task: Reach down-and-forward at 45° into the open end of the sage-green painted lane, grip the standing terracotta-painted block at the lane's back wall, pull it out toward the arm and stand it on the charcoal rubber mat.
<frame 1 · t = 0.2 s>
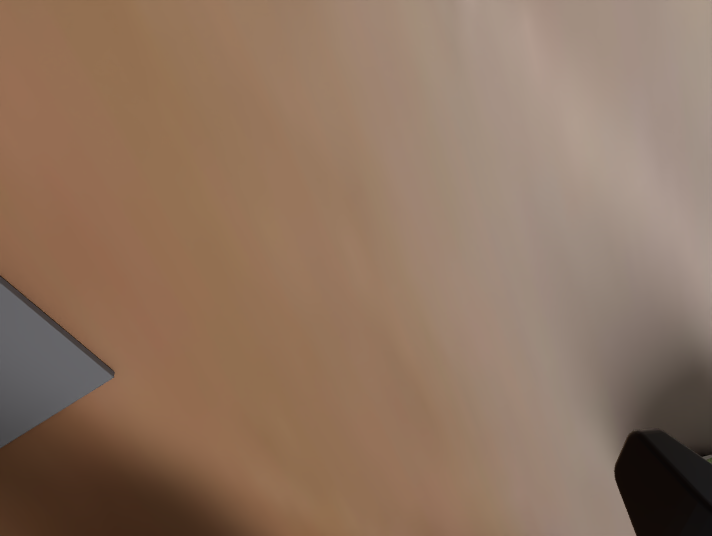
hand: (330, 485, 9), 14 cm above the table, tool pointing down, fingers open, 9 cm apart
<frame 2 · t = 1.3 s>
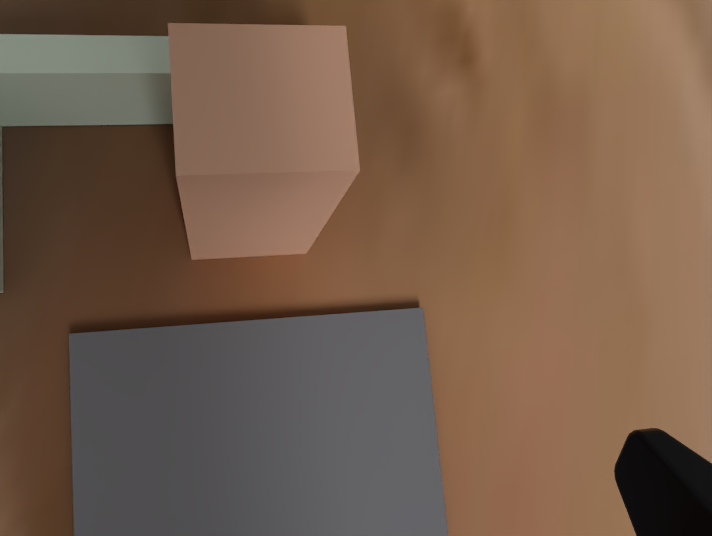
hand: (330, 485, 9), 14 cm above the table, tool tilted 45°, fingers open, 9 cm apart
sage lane: (246, 208, 24), on the table
charcoal mat: (267, 500, 23), on the table
terracotta block: (246, 208, 24), on the table
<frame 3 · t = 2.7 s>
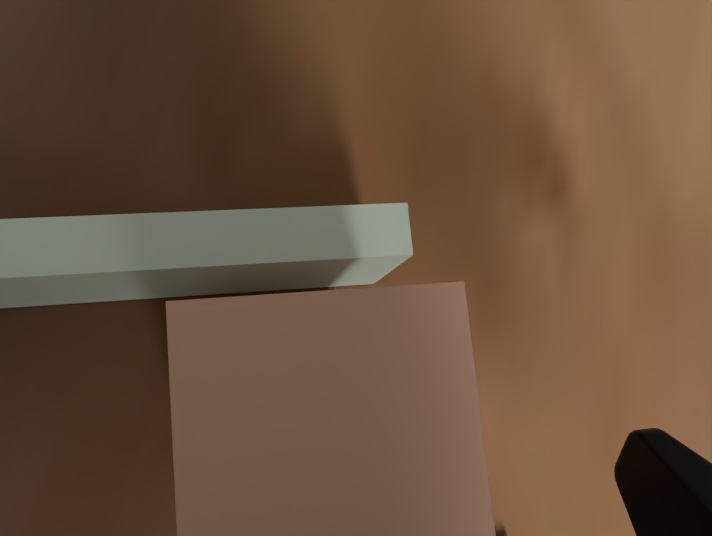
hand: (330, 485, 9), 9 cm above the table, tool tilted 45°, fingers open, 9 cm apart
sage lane: (274, 411, 18), on the table
terracotta block: (274, 411, 18), on the table
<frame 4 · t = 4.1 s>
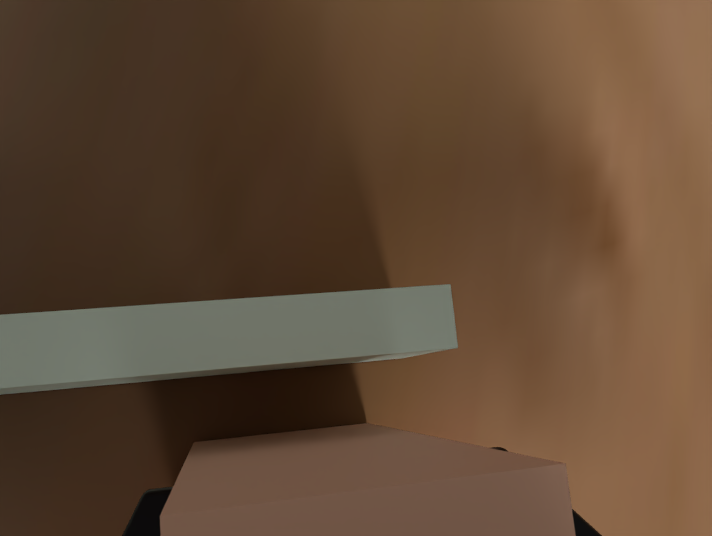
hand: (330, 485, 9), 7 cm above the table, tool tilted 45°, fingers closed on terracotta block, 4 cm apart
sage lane: (288, 512, 15), on the table
terracotta block: (288, 511, 15), on the table, touching gripper
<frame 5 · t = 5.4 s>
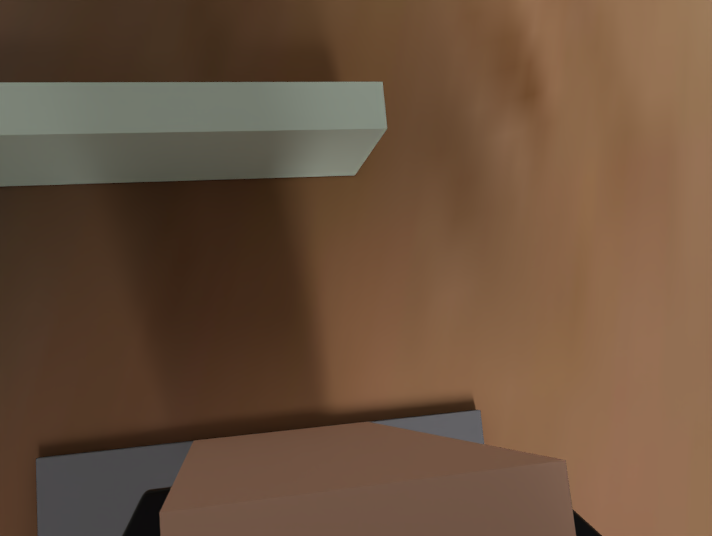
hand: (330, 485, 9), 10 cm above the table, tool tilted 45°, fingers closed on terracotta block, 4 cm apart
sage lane: (261, 287, 19), on the table
terracotta block: (288, 509, 15), point 3 cm above the table, touching gripper
when the fingers open (8 cm above the table, at t = 6.8 s): terracotta block stays where it is, resting on charcoal mat.
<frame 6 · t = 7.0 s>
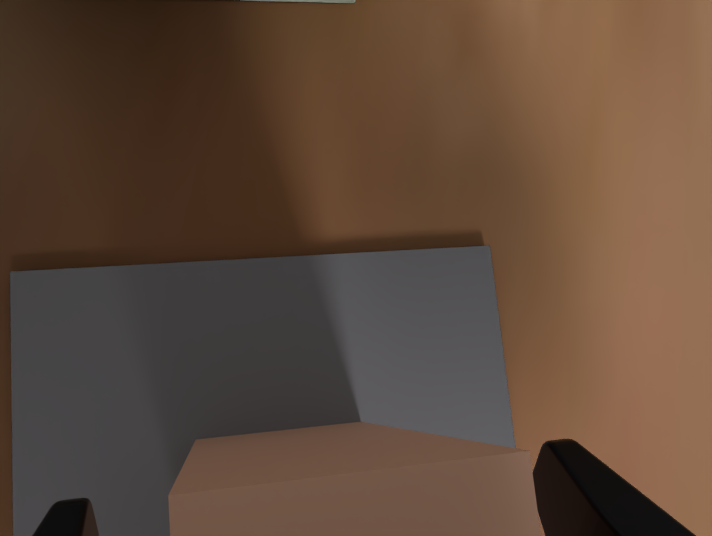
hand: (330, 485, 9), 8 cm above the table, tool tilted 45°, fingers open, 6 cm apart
charcoal mat: (284, 502, 17), on the table
terracotta block: (286, 505, 16), resting on charcoal mat
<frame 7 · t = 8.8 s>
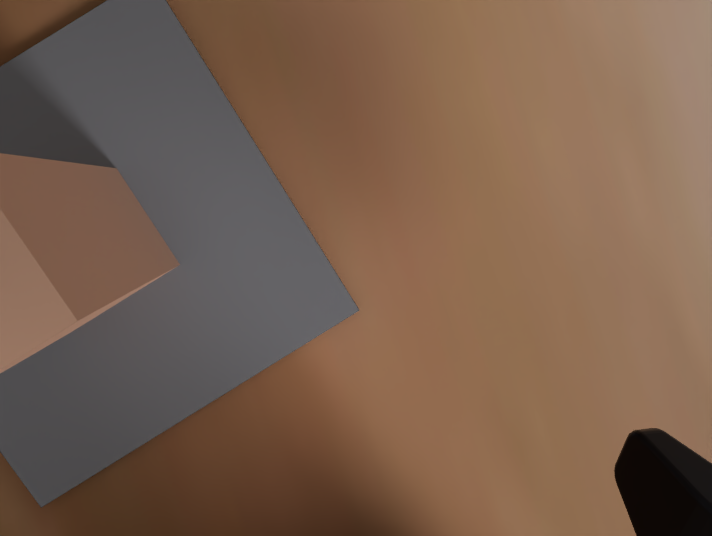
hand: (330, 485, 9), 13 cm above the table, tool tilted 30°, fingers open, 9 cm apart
charcoal mat: (96, 249, 21), on the table
terracotta block: (93, 251, 21), resting on charcoal mat
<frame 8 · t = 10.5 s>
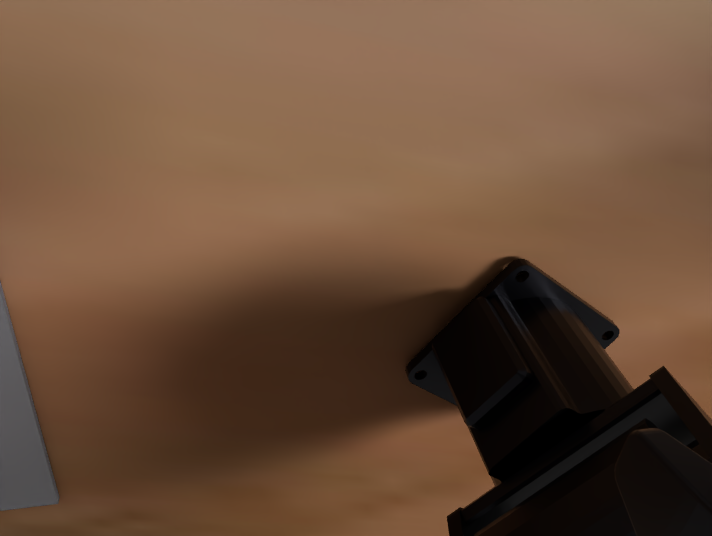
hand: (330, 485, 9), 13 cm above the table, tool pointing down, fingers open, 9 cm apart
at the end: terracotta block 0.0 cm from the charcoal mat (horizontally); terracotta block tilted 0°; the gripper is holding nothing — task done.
